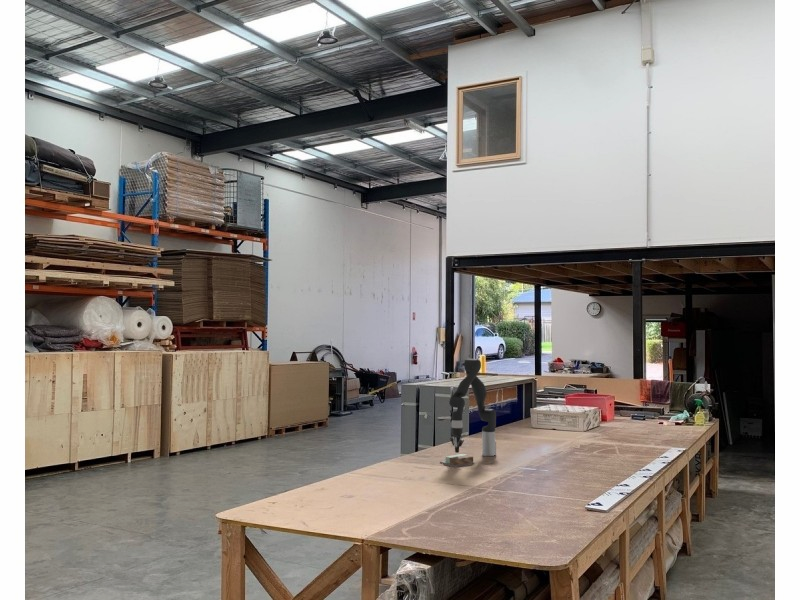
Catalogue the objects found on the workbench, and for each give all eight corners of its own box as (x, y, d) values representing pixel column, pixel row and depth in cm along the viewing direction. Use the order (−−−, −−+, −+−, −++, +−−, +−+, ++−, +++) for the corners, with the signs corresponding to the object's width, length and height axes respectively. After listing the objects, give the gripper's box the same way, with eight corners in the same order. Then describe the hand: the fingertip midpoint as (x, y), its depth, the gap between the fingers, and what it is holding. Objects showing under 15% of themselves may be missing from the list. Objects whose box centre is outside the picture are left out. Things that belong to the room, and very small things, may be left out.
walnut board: (468, 461, 446) (468, 455, 446) (473, 462, 442) (473, 456, 442) (449, 463, 438) (449, 457, 438) (454, 465, 433) (454, 459, 434)
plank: (463, 459, 452) (463, 453, 452) (468, 460, 448) (468, 455, 448) (445, 462, 442) (445, 456, 442) (450, 463, 438) (450, 457, 438)
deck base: (461, 460, 455) (461, 458, 455) (474, 464, 442) (474, 462, 442) (439, 462, 446) (439, 461, 446) (452, 466, 433) (452, 465, 433)
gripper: (467, 427, 441) (467, 453, 440) (455, 425, 453) (455, 450, 452) (458, 428, 437) (458, 454, 437) (446, 425, 449) (446, 451, 448)
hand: (456, 452), depth 444 cm, fingers closed
